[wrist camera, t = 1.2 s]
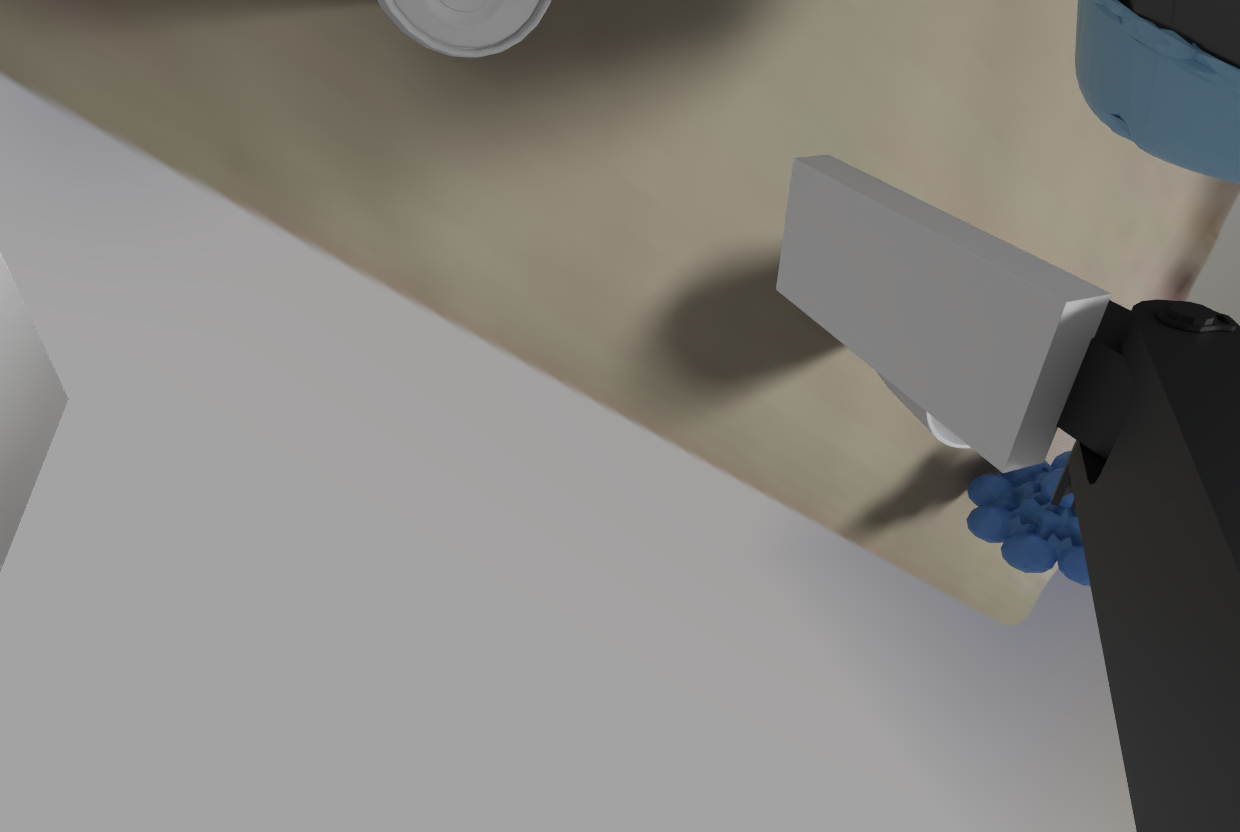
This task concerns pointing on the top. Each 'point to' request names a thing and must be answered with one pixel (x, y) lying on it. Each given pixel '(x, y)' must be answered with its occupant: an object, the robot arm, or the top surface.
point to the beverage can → (466, 23)
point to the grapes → (1029, 519)
